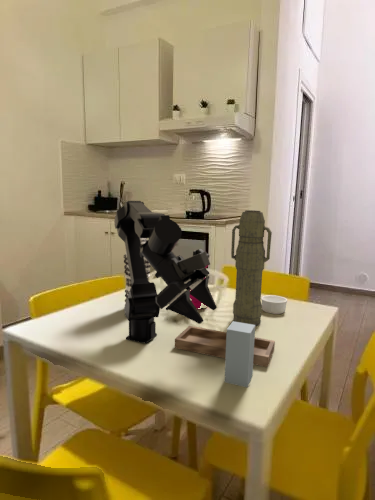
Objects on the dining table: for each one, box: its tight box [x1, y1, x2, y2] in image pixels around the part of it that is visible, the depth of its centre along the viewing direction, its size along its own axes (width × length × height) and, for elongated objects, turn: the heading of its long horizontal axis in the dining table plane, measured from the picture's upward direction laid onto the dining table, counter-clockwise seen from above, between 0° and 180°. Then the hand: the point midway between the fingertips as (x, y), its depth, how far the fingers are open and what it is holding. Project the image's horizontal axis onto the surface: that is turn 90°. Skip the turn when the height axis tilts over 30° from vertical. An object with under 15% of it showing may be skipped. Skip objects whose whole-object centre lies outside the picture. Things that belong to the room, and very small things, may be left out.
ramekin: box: [261, 294, 288, 315], centre depth 121 cm, size 9×9×4 cm
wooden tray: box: [174, 325, 276, 368], centre depth 90 cm, size 24×10×2 cm, turn 68°
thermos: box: [230, 209, 273, 327], centre depth 107 cm, size 9×12×35 cm
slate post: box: [223, 320, 256, 388], centre depth 75 cm, size 5×5×12 cm
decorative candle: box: [123, 238, 152, 305], centre depth 117 cm, size 9×9×25 cm
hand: (209, 315), depth 76 cm, fingers open, 9 cm apart
